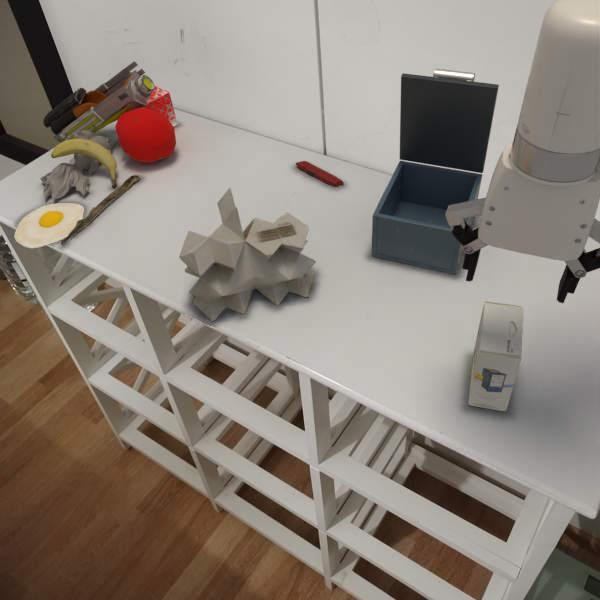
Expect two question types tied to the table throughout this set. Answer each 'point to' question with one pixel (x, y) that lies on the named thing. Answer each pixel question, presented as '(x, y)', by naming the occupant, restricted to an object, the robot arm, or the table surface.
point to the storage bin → (422, 216)
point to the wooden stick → (101, 207)
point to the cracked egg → (48, 224)
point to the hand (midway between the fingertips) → (515, 283)
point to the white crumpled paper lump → (247, 261)
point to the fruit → (87, 153)
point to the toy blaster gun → (100, 104)
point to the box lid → (446, 119)
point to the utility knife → (319, 173)
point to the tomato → (145, 135)
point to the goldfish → (73, 170)
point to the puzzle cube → (161, 104)
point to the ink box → (496, 356)
